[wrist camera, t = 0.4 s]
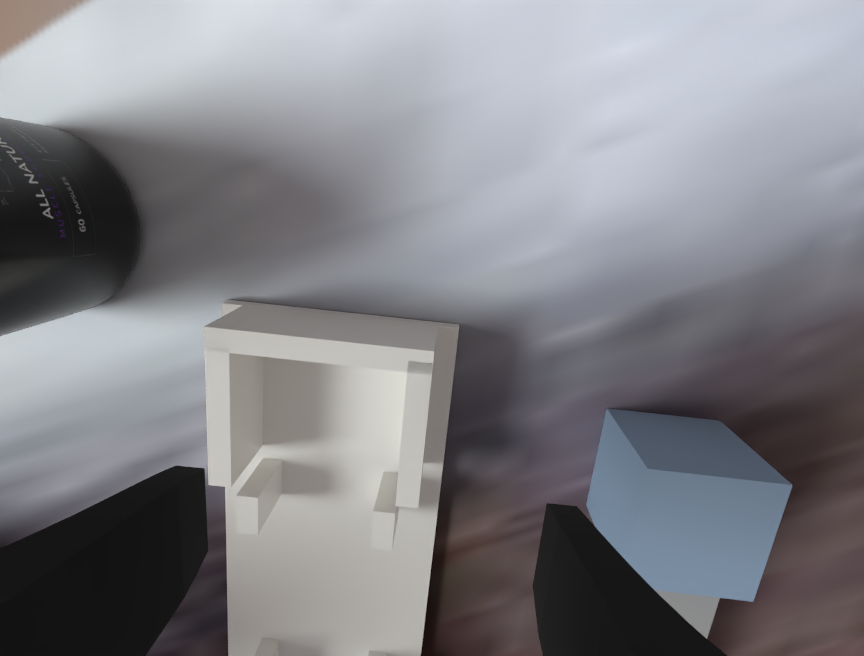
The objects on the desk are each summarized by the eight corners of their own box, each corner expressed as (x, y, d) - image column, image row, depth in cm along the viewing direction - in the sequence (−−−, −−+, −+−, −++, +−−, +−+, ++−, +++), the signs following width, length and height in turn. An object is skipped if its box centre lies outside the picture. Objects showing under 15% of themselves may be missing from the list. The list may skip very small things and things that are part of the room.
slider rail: (412, 720, 25) (405, 806, 21) (234, 698, 25) (198, 780, 22) (458, 324, 19) (459, 354, 16) (228, 299, 19) (179, 324, 16)
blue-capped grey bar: (629, 741, 25) (666, 859, 20) (538, 730, 25) (555, 845, 20) (719, 420, 20) (792, 485, 16) (606, 407, 20) (647, 468, 16)
